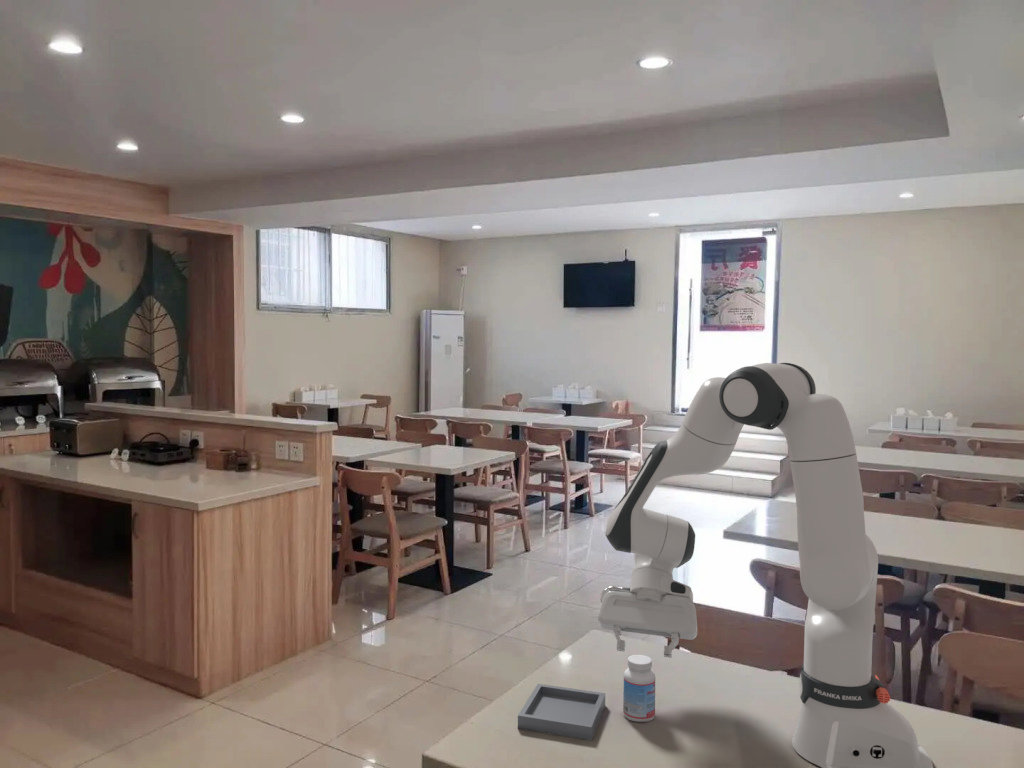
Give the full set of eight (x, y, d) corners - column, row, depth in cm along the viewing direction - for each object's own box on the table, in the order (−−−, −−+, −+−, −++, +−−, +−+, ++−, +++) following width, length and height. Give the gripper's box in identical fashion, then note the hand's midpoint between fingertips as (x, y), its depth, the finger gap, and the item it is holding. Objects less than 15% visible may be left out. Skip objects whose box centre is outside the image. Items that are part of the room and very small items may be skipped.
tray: (605, 705, 152) (605, 693, 152) (591, 740, 138) (591, 727, 138) (537, 695, 156) (537, 683, 156) (517, 728, 143) (517, 715, 142)
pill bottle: (654, 725, 144) (655, 667, 143) (622, 721, 145) (623, 664, 145) (655, 709, 150) (656, 654, 149) (624, 706, 151) (624, 651, 151)
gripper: (600, 578, 162) (590, 640, 154) (698, 588, 156) (694, 653, 148) (604, 592, 167) (595, 653, 158) (699, 602, 161) (695, 666, 152)
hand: (643, 653), depth 153 cm, fingers open, 8 cm apart
